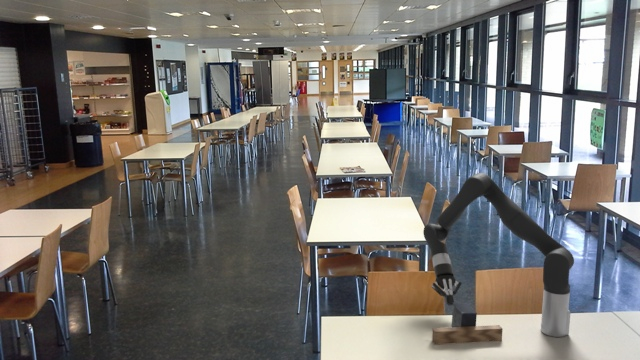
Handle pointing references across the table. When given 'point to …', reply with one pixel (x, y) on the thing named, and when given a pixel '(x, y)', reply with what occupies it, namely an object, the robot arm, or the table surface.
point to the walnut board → (467, 334)
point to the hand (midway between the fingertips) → (450, 304)
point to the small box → (463, 315)
